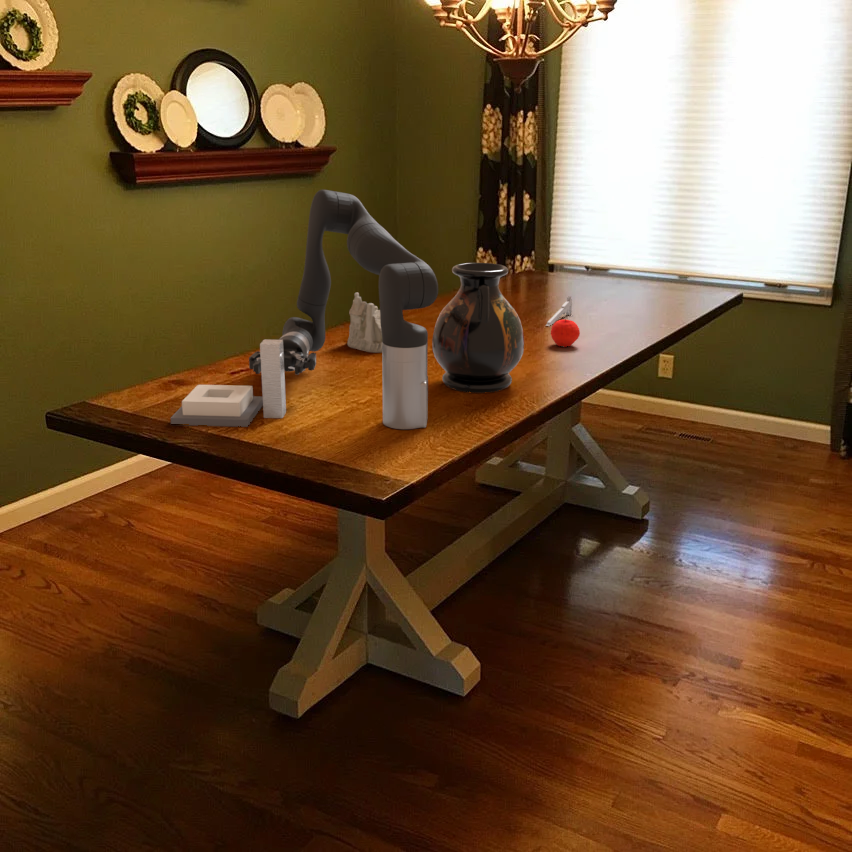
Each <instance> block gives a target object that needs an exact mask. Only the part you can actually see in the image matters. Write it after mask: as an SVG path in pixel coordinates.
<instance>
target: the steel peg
mask: <svg viewBox="0 0 852 852" xmlns="http://www.w3.org/2000/svg"><path fill="white" fill-rule="evenodd" d="M259 352H260V355H261V372H260V374H261V392H262V396H263V406H262V408H263V409H262V411H263V418H264V419H283V418H284V417H285V415H286V413H287V405H286V404H287V401H286V399H287V398H286V379H285V371H284V350H283V340H279V339H263V340H262V341H261V342H260V343H259Z"/></svg>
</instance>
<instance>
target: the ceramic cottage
mask: <svg viewBox="0 0 852 852" xmlns="http://www.w3.org/2000/svg"><path fill="white" fill-rule="evenodd" d="M348 314H349V316H350V317H349V319H350V324H349V326H348V327H349V329H348V332H349V333H348V334H349V336H348V338H347V347H349V348H350V349H354V350H356V349H357V350H359V351H364V352H367V353H374V354H375V353H376V354H378V353H382V331H381V322H380V309H379V308H378V306H377V305H375V304H374V303H372V302H369V303H367V301H363V300H362V296H360V293H359V292H355V293H354V298H353V300H352V304H351V308H350V309H349V313H348Z"/></svg>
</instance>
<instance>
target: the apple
mask: <svg viewBox="0 0 852 852" xmlns="http://www.w3.org/2000/svg"><path fill="white" fill-rule="evenodd" d="M550 328H551V329H550V335H551V340H553V342H554V344H555V345H556V346H558V347H560V346H564V347H563V348H568V347H571V346H572V345H573V344H574V343H575V342H576V341H577V340H578V339H579V337H580V333H581V332H580V328H579V326H578V324H577V323H576V322H575V321H573V320H570V319H557V320H556V321H555V323H554V324H553V325H551V327H550ZM567 346H568V347H567Z"/></svg>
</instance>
